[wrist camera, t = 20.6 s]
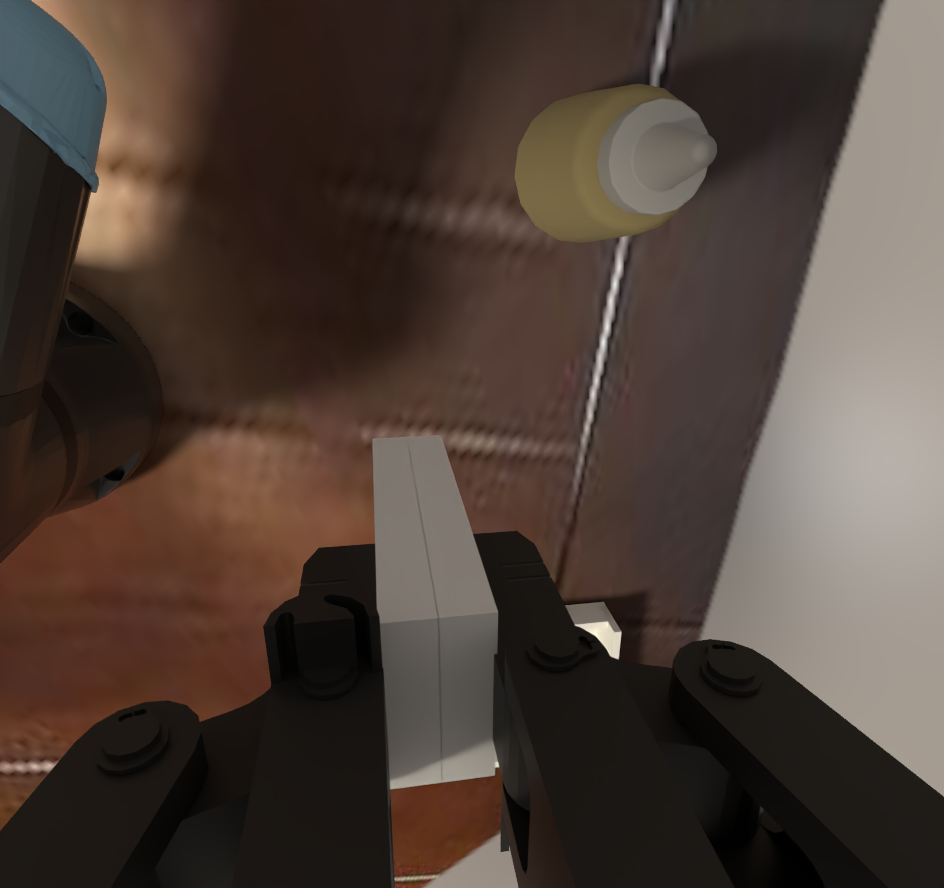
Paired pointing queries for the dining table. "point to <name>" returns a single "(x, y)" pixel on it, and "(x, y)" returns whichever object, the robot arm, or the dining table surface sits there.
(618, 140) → the squeeze bottle
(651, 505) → the dining table surface
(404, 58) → the dining table surface
